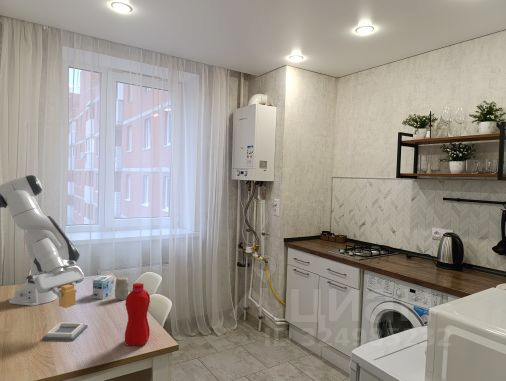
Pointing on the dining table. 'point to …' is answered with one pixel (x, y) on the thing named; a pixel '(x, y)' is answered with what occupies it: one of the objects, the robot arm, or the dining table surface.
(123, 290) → the carving
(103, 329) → the dining table surface
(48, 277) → the robot arm
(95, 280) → the light bulb box
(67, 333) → the base
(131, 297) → the water bottle
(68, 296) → the stepped orange block
